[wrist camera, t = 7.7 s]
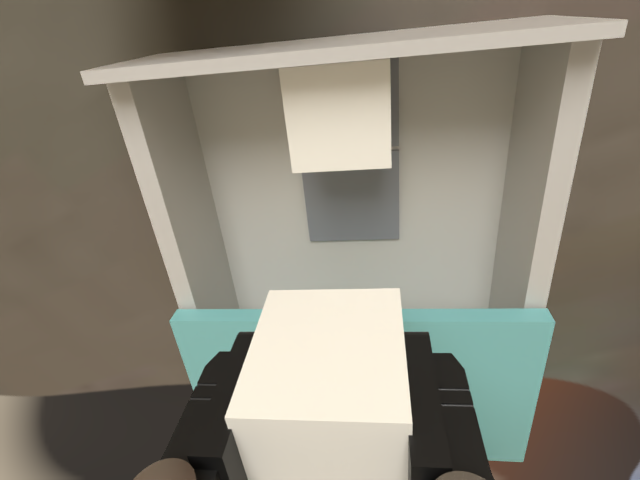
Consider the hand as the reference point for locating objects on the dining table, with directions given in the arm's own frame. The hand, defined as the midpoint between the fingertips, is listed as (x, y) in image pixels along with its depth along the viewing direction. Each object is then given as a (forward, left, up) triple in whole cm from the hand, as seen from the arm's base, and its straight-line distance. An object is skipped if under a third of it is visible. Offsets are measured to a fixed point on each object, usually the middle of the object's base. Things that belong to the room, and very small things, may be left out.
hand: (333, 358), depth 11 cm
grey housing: (+2, 0, -11) cm, 11 cm away
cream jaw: (0, 0, -1) cm, 1 cm away
